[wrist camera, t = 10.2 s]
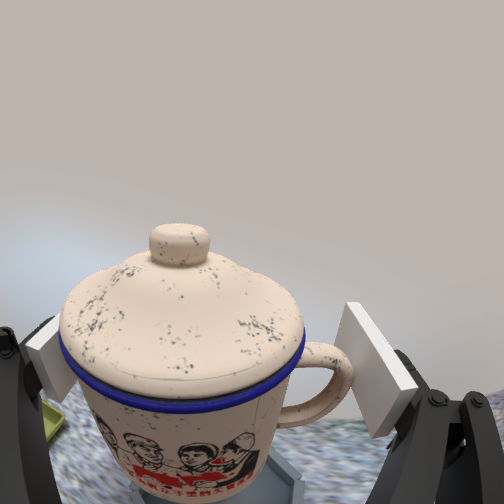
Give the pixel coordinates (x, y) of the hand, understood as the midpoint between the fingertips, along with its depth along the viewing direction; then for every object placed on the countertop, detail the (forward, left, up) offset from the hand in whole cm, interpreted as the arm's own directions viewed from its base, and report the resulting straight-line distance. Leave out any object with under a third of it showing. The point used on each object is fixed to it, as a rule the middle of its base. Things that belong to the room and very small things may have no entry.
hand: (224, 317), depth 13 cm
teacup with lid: (-1, +3, -7) cm, 8 cm away
